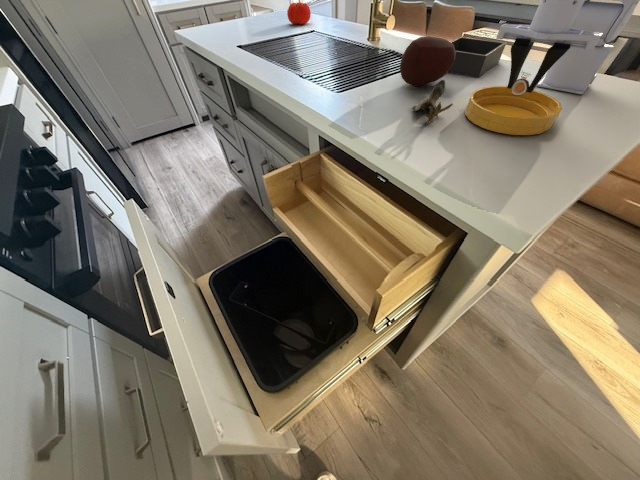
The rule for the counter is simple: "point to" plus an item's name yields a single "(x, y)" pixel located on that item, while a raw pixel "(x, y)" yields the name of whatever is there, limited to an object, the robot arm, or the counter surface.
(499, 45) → the bin
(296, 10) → the tomato
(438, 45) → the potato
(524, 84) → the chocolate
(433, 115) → the eagle figurine
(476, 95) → the bowl
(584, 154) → the counter surface
